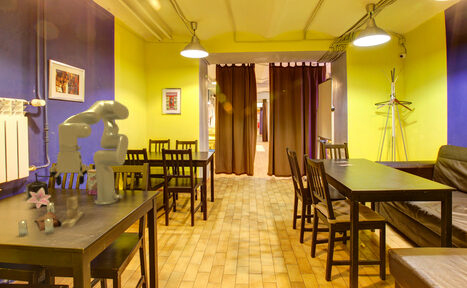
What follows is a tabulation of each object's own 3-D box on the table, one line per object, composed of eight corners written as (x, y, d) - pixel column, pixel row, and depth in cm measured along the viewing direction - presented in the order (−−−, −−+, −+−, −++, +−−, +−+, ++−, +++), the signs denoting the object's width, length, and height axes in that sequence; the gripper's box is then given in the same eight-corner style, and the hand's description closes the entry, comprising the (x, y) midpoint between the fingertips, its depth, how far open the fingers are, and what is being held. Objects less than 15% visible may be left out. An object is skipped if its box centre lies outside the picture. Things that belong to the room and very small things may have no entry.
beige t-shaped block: (83, 215, 138) (82, 192, 137) (71, 227, 123) (70, 201, 122) (74, 216, 137) (73, 193, 136) (61, 228, 122) (60, 202, 121)
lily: (22, 212, 146) (28, 198, 144) (24, 199, 155) (29, 186, 153) (48, 214, 154) (54, 200, 152) (48, 201, 162) (53, 188, 161)
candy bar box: (87, 195, 176) (86, 170, 175) (92, 193, 181) (91, 169, 180) (104, 195, 175) (102, 170, 174) (108, 193, 180) (106, 169, 179)
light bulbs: (76, 211, 143) (75, 200, 143) (51, 233, 115) (50, 220, 114) (49, 213, 140) (48, 202, 140) (17, 236, 112) (16, 223, 112)
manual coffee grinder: (28, 201, 162) (26, 172, 160) (26, 198, 170) (24, 170, 168) (58, 196, 172) (56, 169, 171) (55, 193, 180) (53, 167, 179)
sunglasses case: (32, 220, 130) (40, 207, 132) (48, 224, 135) (55, 211, 137) (39, 231, 118) (48, 216, 119) (56, 235, 122) (63, 221, 124)
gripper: (90, 148, 132) (92, 182, 133) (52, 149, 129) (54, 183, 130) (86, 149, 125) (87, 185, 126) (44, 150, 121) (46, 187, 122)
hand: (70, 184), depth 128 cm, fingers open, 9 cm apart
